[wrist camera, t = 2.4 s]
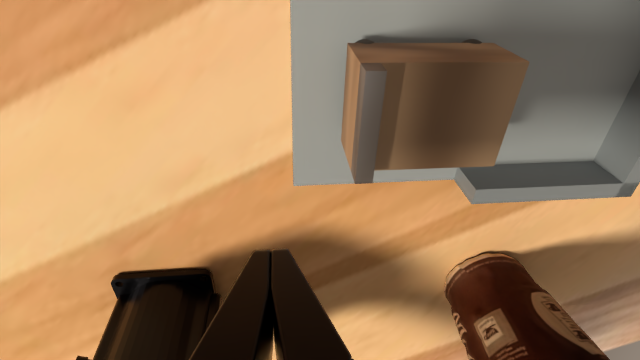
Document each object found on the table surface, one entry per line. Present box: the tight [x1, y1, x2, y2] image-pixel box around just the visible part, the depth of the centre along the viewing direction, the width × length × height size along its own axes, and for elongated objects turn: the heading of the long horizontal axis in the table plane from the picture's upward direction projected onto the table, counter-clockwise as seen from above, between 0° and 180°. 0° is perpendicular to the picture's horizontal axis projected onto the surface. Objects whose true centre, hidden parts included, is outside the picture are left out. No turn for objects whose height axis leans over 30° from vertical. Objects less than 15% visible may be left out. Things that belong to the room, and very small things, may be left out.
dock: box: [290, 0, 640, 204], centre depth 19 cm, size 20×12×3 cm, turn 89°
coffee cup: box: [444, 253, 610, 360], centre depth 24 cm, size 9×8×13 cm
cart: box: [341, 39, 530, 184], centre depth 17 cm, size 7×5×5 cm
